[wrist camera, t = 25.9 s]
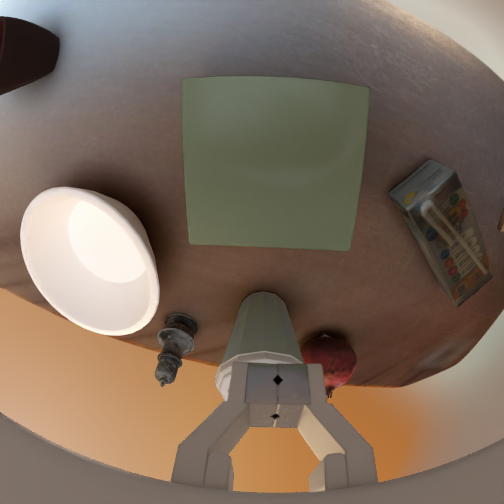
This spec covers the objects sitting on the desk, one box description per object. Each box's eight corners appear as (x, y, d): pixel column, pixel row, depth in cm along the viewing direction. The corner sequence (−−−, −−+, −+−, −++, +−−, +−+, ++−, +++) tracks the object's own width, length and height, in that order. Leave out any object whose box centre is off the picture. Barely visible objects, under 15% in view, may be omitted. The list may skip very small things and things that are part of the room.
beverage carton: (430, 154, 28) (460, 169, 22) (475, 255, 34) (497, 279, 28) (384, 192, 31) (407, 214, 25) (438, 285, 37) (457, 312, 32)
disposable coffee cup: (213, 294, 40) (191, 383, 27) (282, 264, 37) (287, 357, 24) (250, 340, 44) (244, 423, 31) (314, 317, 41) (326, 405, 28)
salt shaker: (198, 340, 45) (183, 401, 35) (164, 333, 45) (143, 392, 35) (200, 315, 42) (182, 380, 32) (162, 308, 42) (137, 369, 32)
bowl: (36, 228, 36) (5, 254, 29) (102, 132, 29) (61, 146, 22) (122, 317, 44) (103, 352, 37) (211, 254, 37) (198, 294, 29)
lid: (348, 247, 28) (349, 251, 27) (190, 240, 28) (188, 244, 28) (367, 87, 20) (370, 87, 19) (183, 79, 21) (181, 78, 20)
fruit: (328, 315, 41) (339, 369, 32) (361, 342, 44) (374, 391, 35) (283, 345, 45) (285, 397, 36) (319, 368, 47) (325, 415, 39)
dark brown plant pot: (64, 88, 25) (-4, 98, 15) (4, 95, 25) (-54, 111, 14) (77, 18, 20) (13, 6, 10) (13, 36, 20) (-44, 39, 9)
